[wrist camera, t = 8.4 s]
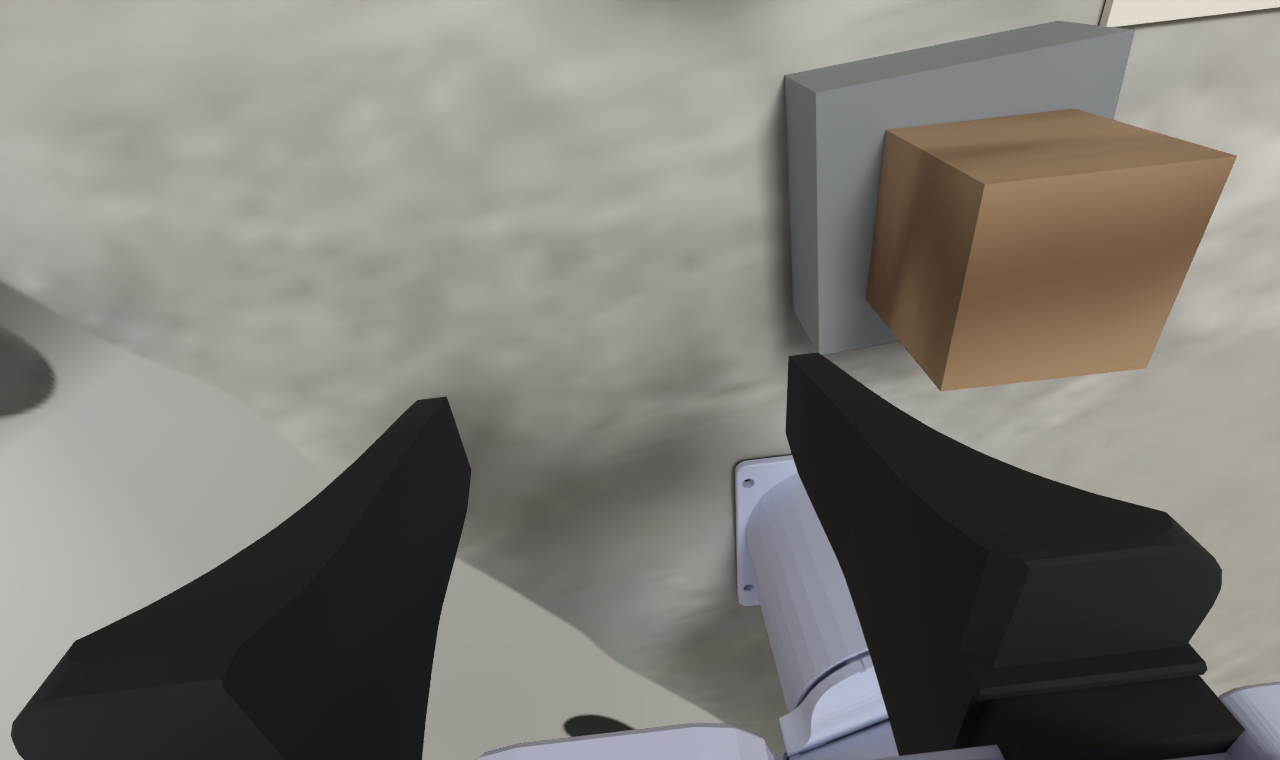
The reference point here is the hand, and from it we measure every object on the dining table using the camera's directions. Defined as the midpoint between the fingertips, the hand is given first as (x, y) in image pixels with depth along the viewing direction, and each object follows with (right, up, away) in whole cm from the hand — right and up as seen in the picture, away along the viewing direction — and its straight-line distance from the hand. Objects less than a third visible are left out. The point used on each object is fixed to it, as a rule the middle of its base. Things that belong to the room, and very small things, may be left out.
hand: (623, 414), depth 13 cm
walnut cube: (+10, +6, +5) cm, 12 cm away
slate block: (+9, +7, +8) cm, 14 cm away
